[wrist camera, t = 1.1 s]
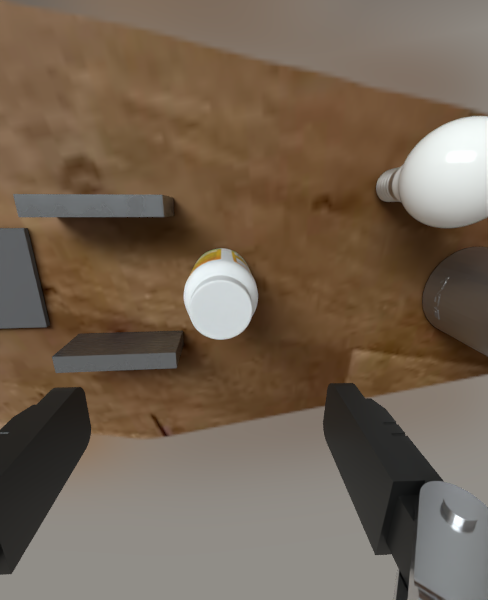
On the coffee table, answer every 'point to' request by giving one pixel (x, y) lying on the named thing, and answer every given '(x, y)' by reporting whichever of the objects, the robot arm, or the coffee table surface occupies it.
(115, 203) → the grey bricks
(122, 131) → the coffee table surface
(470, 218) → the lightbulb
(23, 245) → the gray rectangular block
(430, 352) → the coffee table surface
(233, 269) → the supplement bottle
